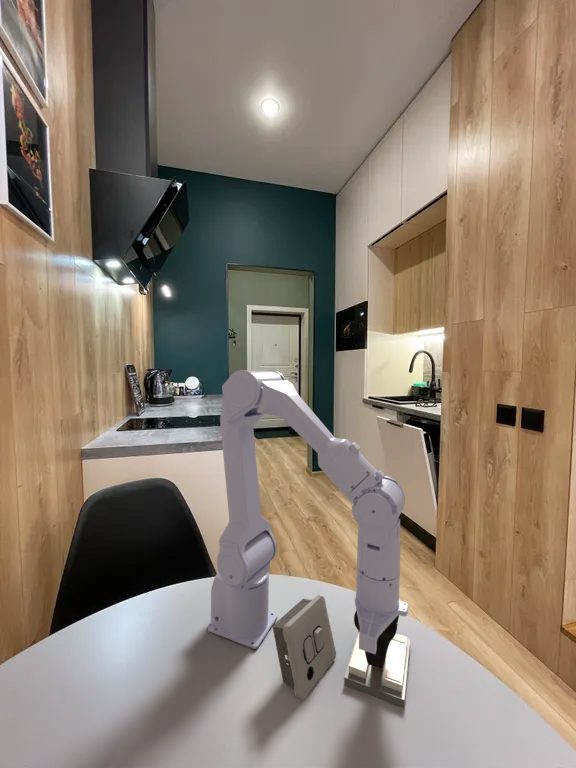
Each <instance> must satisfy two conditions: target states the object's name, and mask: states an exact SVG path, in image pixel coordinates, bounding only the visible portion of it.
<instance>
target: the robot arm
mask: <svg viewBox="0 0 576 768" xmlns="http://www.w3.org/2000/svg"><path fill="white" fill-rule="evenodd" d="M294 386H295V385H294V384H293V383H292V382H290V381H289V380H287V379H286V377H285V376H284V375H283V374H282V373H281V372H279V371H278V370H275V369H269V370H246V369H238V370H236V371H235V372H233V373H232V374H231V375H230V376H229V377H228V378H227V380H226V381H225V382H223V384H222V386H221V387H222V388H221V389H222V401H223V403H222V408H221V413H220V415H219V423H220V433H221V435H220V436H221V444H222V455H223V456H222V457H223V467H224V476H225V477H224V478H225V486H226V497H227V498H226V499H227V509H228V510H227V511H228V518H229V519H228V520H229V521H228V523H227V525H226V527H225V529H224V530H223V532H222V534H221V536H220V538H219V540H218V541H219V544H218V545H219V552H218V554H217V558H216V568H217V571H218V572H217V573H216V574H215V577H214V579H213V582H212V585H211V590H210V625H208V628H207V630H208V632H210V633H212V634H215V635H217V636H220V637H223V638H226V639H227V640H230V641H233V642H236V643H238V644H241V645H243V646H246V647H249V648H251V649H254V650H256V649H258V648H259V647H260V645H261V644H262V642H263V640H264V639H265V638H266V636H267V634H268V632H269V631H270V629H271V628H273V625H274V624H275V623H276V621H277V620H278V614H277V613H276V612H272V611H269V602H270V601H269V598H270V597H269V596H270V595H269V594H270V593H269V590H270V588H269V585H270V584H269V583H270V581H269V580H270V568H271V561H272V560H274V558H275V557H276V556H277V555H276V554H277V552H278V545H277V541H276V539H275V537H274V535H273V532H272V528H271V522H270V521H269V520H268V519H267V518H265V517H264V516H262V507H261V498H260V486H259V477H258V474H259V473H258V466H257V453H256V446H255V445H256V444H255V434H254V426H255V424H256V423H258V421H259V420H260V419H261V418H262V417H263V416H264V415H269V416H275V417H280V418H282V419H283V420H284V421H285V422H286V423H287V424H288V425H289V427H291V429H293V430H294V431H295V432H296V433H297V434H298V435H299V437H301V438H302V439H303V440H304V441H305V442H306V443H307V444H308V445H309V446H310V447H311V448H312V449H313V450H314V451H315V452H316V453H317V464H318V465H317V466H318V467H319V468H320V469H321V471H323V473H324V474H325V475H326V476H327V478H329V479H330V481H331V482H332V483H333V484H334V485H335V487H337V489H338V490H339V491H340V492H341V493H342V494H343V495H344V496H345V497H346V499H347V500H348V501H349V502H350V503H352V505H351V513H352V515H353V518H354V520H355V522H356V523H357V524H358V533H357V547H356V549H357V555H356V556H357V557H356V590H355V594H354V606H355V612H354V615H353V622H354V626H355V628H356V629H357V631H359V649H361V650H364V651H365V655H366V659H367V663H368V664H369V665H371V666H374V667H377V668H380V669H382V668H383V666H384V663H385V658H386V653H387V649H388V646H389V644H390V642H391V640H392V639H393V638H394V636H395V634H397V631H398V622H399V618H400V616H402V617H407V616H408V613H409V612H408V611H409V604H408V603H407V602H406V601H403V600H401V599H400V576H401V575H400V574H401V573H400V571H401V544H402V543H401V542H402V539H401V536H400V535H401V518H399V517H400V515H402V514H401V513H402V512H403V510H404V508H405V504H406V503H405V502H406V496H405V493H404V491H403V488H402V487H401V485H399V482H398V481H397V480H396V479H394V478H392V477H391V476H388V475H385V473H384V472H383V471H382V470H380V469H379V470H377V469H376V468H375V467H374V466H373V464H371V463H370V461H368V460H367V458H366V457H364V455H363V454H362V453H361V452H360V451H361V449H362V448H361V446H360V445H359V444H358V443H357V442H355V441H354V442H352V443H351V442H350V441H349V439H347V438H337V437H335V436H334V435H333V434H332V432H331V431H330V430H329V429H328V428H327V427H326V425H325V424H324V423H323V422H322V420H320V418H318V416H317V415H316V414H315V413H314V411H313V410H312V409H311V408H310V407H309V405H308V404H307V403H306V402H305V401H304V400H303V398H302V397H301V396H300V395H299V393H298V392H297V390H296V388H295V387H294Z"/></svg>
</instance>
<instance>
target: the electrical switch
mask: <svg viewBox="0 0 576 768" xmlns="http://www.w3.org/2000/svg"><path fill="white" fill-rule="evenodd" d="M328 613H329V612H328V609H327V604H326V599H325V597H324V596H322V595H319V594H317V595H316V596H315V597H313V599H307V598H302V599H301V600H300V601H299V602H298V603H297V604H295V605H294V606H293V607H292V608H291V609H290V610H288V612H286V613H284V615H283V616H282V617H280V618H279V619H277V620H276V621H275V622H274V624H273V625H272V630H273V631H272V632H273V638H274V640H275V641H274V642H275V647H276V652H277V657H278V662H279V667H280V672H281V677H282V683H283V684H284V685H287V686H289V687H291V688H292V689H293V690H294V695H295V697H296V699H297V698H298V699H300V700H303V699H305V698H306V697H307V696H308V694H309V693H310V692H311V691H312V689H313V688H314V687H315V685H316V684H317V683H318V682H319V680H320V679H321V678H322V677H323V675H324V674H325V673H326V671H327V670H328V669H329V668H330V666H331V665H332V664H333V662H334V661H335V660H336V659H337V658H336V657H337V655H336V654H337V650H336V647H335V641H334V637H333V631H332V628H331V623H330V618H329V614H328Z"/></svg>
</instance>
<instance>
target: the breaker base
mask: <svg viewBox="0 0 576 768" xmlns="http://www.w3.org/2000/svg"><path fill="white" fill-rule="evenodd" d="M357 631H358V630H357ZM410 652H411V639H410V638H408V636H405V635H402V634H398V633H396V634H395V636H394V638H393V639H392V640H391V642H390V644H389V646H388V649H387V653H386V658H385V663H384V669H383V670H382V669H379V668H376V667H373V666H371V665H369V664H368V663H367V659H366V655H365V651H364V650H361V649H359V631H358V632H357V634H356V638H355V640H354V644H353V647H352V651H351V654H350V658H349V660H348V663H347V667H346V671H345V674H344V677H343V678H344V679H343V683H344V684H343V685H344V687H347V688H350V689H352V690H354V691H357V692H360V693H362V694H364V695H365V694H366V695H368V696H370V697H372V698H375V699H377V700H381V701H383V702H385V703H388V704H389V705H393V706H396V707H398V708H401V709H405V703H406V693H407V680H408V674H409V673H408V671H409V663H410Z"/></svg>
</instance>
